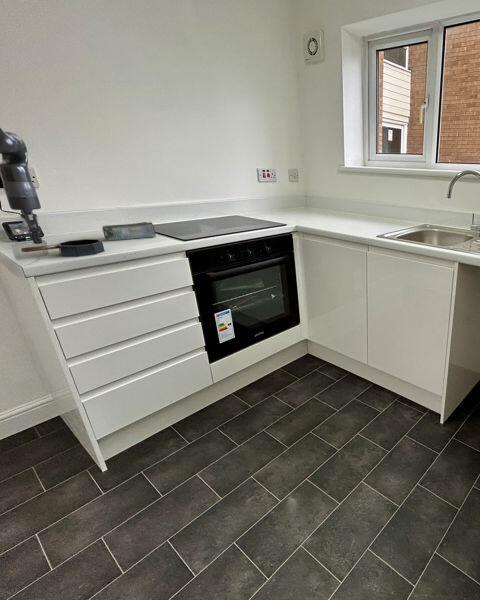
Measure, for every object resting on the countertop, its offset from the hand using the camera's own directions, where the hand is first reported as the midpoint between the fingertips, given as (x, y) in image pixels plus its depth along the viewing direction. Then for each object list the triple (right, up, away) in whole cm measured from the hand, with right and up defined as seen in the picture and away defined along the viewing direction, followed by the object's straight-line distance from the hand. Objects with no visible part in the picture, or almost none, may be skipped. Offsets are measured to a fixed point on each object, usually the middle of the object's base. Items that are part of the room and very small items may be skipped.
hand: (36, 241), depth 126 cm
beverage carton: (+5, +8, +38) cm, 39 cm away
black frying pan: (+4, -4, +7) cm, 9 cm away
